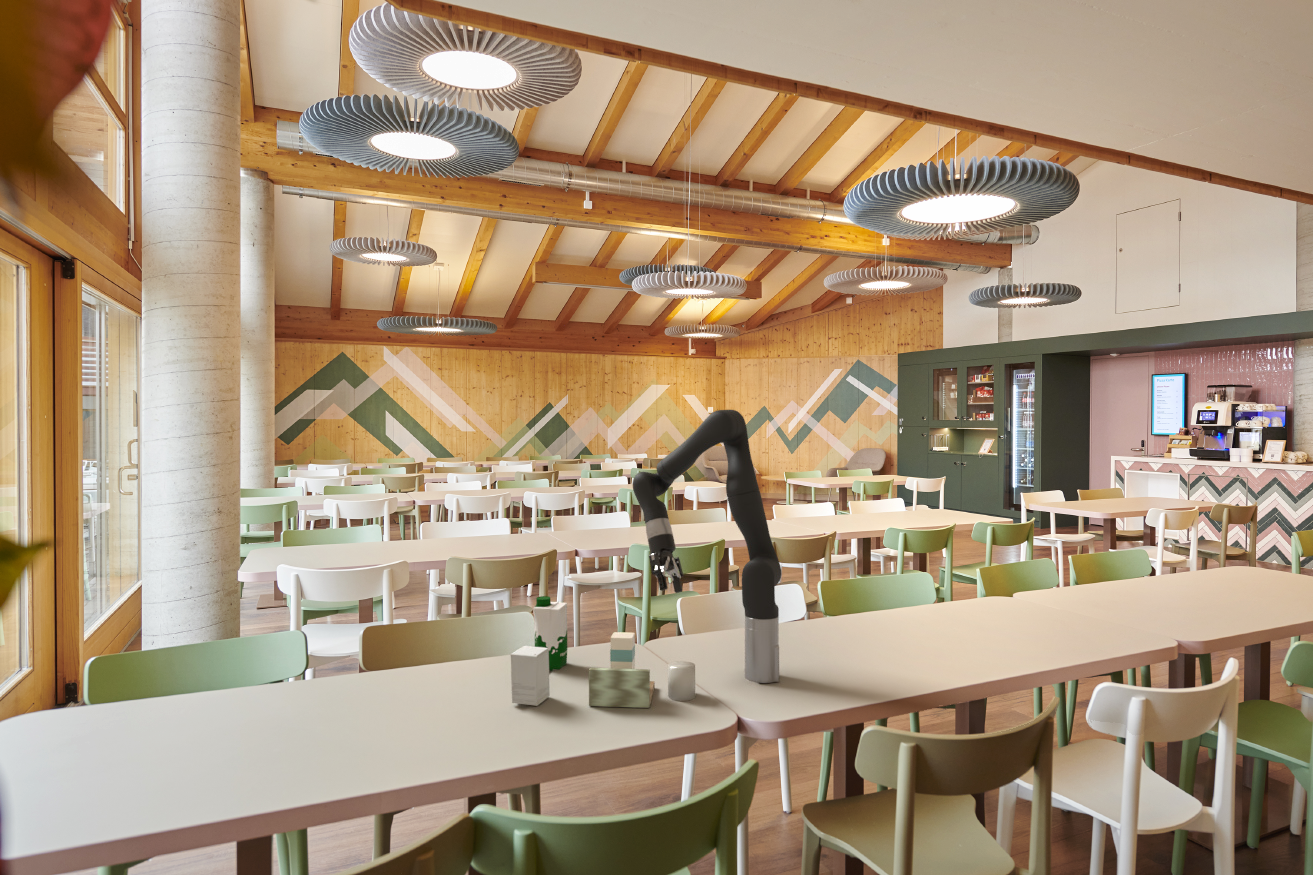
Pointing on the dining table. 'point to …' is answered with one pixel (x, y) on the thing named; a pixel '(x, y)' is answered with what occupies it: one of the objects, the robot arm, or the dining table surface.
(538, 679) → the supplement box
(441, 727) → the dining table surface
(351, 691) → the dining table surface
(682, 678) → the white tapered tumbler
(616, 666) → the oat carton
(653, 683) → the display bay
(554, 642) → the milk carton
